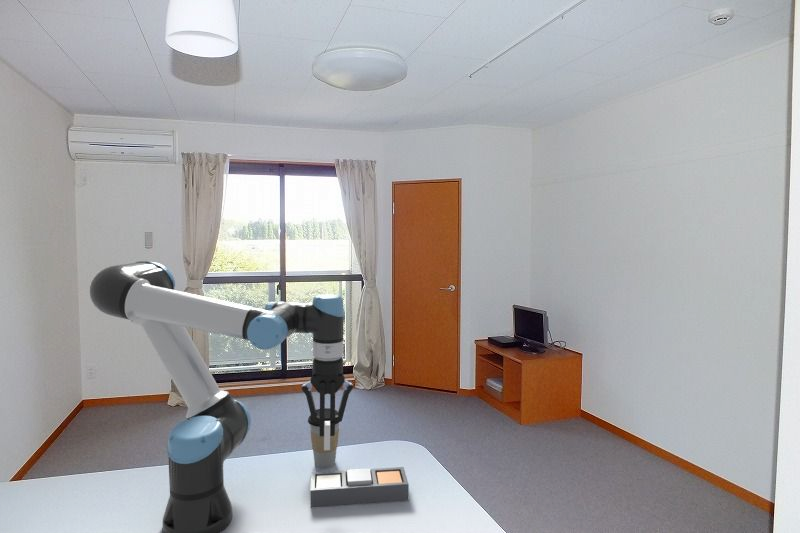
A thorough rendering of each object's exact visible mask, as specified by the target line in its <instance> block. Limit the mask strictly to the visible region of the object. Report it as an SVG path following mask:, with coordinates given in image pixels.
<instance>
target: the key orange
mask: <svg viewBox="0 0 800 533" xmlns="http://www.w3.org/2000/svg"><path fill="white" fill-rule="evenodd" d="M400 482H402V480H401V476H400V472H399V471H389V472H377V484H385V483H400Z"/></svg>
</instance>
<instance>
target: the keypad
mask: <svg viewBox="0 0 800 533" xmlns="http://www.w3.org/2000/svg"><path fill="white" fill-rule="evenodd" d="M347 470H348V469H347ZM347 470H331V471H329V470H328V471H316V472H314V471H313V472H311V477H310V478H311V480H310V491H309V492H310V494H309V495H310V500H309V501H310V509H313V508H314V509H315V508H326V507H342V506H355V505H357V506H358V505H370V504H383V503H385V504H386V503H399V502H409V490H410V487H409V485H410V484H409V481H408V478H407V474H406V471H405V467H404V466H395V467H381V468H380V467H379V468H370V472H371V479H372V484H369V485H354V486H348V484H347ZM389 471H399V472H400V476H401V480H402V482H400V483H385V484H377V472H389ZM324 475H340V483H341V486H338V487H323V488H316V485H317V476H324Z"/></svg>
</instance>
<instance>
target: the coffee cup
mask: <svg viewBox="0 0 800 533" xmlns="http://www.w3.org/2000/svg"><path fill="white" fill-rule="evenodd" d="M316 412H317V416H320V408H319V409H318V408H316ZM336 415H338V410H336V409H335V416H336ZM325 421H330V408H328V407H326V408H325ZM307 423H308V424H309V426H310V439H311V449H312V453H313V461H314V466H315V467H317V468H320V469H328V468H330V467H331V468H332V467H333V466H334V465H335V463H336V459H337V448H338V445H339V444H338V442H339V434H340V432H339V431H340V422H336V423H335V435H334V436H330V450H324V436H320V425H319V423H314V422H313V421H312V417H311V414H310V415H309V416H308V417H307Z"/></svg>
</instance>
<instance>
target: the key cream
mask: <svg viewBox="0 0 800 533" xmlns="http://www.w3.org/2000/svg"><path fill="white" fill-rule="evenodd" d="M338 486H341V483H340V475H324V476H317V485H316V488H323V487H338Z"/></svg>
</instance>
